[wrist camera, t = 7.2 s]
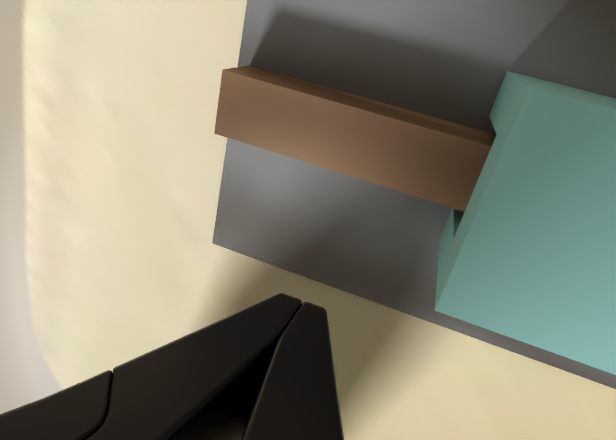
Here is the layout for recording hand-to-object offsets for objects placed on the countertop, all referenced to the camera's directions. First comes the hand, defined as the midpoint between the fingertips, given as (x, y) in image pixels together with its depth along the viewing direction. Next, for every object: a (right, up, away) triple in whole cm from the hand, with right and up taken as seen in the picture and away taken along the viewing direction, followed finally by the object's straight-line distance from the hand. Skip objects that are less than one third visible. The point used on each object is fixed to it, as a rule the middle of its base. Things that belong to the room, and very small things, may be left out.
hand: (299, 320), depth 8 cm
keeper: (+9, +3, +9) cm, 13 cm away
